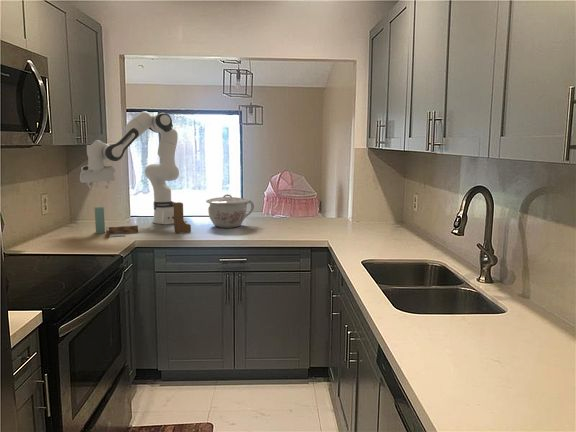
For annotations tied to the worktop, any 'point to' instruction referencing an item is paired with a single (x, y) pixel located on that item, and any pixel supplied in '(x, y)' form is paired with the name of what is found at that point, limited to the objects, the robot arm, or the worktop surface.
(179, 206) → the wooden block
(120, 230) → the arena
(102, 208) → the painted block
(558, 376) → the worktop surface
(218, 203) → the chamber pot
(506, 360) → the worktop surface
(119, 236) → the pad
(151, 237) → the worktop surface
